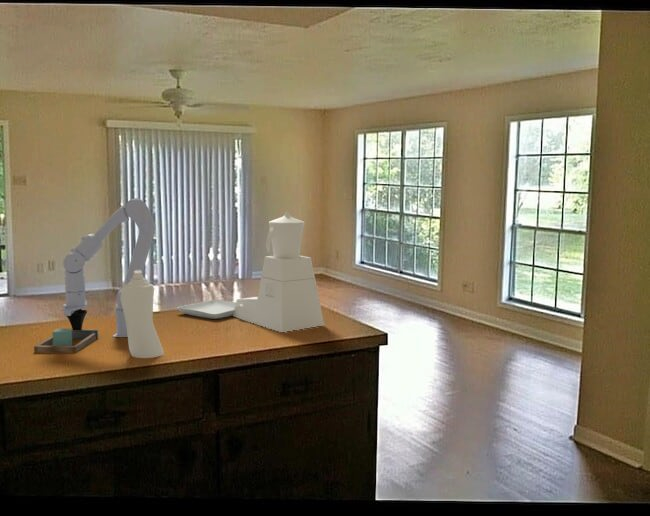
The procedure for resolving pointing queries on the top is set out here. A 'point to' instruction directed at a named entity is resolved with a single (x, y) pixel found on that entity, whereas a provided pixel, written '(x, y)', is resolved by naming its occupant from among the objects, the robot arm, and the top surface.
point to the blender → (284, 283)
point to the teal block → (62, 337)
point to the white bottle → (140, 317)
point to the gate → (83, 334)
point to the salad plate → (209, 309)
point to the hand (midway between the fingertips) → (77, 333)
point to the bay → (47, 348)
